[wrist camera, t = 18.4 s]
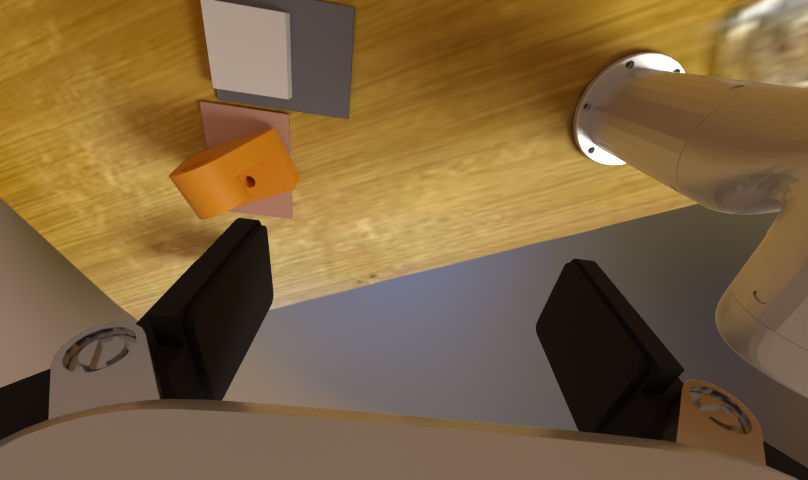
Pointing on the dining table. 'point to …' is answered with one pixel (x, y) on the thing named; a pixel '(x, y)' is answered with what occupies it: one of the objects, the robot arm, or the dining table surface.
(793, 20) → the dining table surface
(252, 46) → the tile
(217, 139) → the rest pad
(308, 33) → the mat
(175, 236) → the dining table surface
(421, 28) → the dining table surface
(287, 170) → the bracket
